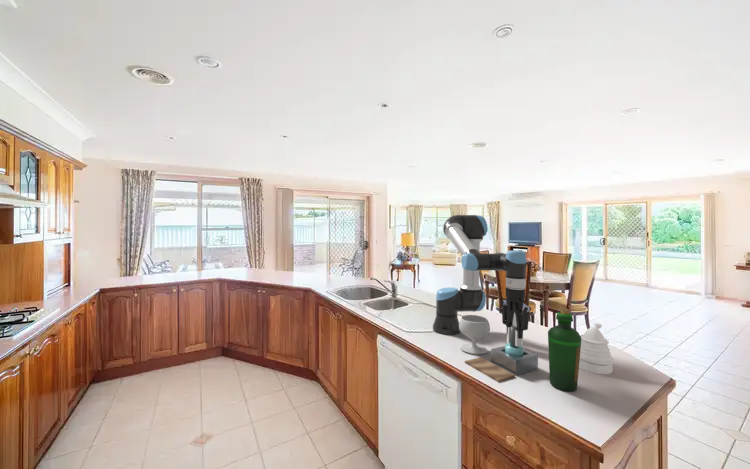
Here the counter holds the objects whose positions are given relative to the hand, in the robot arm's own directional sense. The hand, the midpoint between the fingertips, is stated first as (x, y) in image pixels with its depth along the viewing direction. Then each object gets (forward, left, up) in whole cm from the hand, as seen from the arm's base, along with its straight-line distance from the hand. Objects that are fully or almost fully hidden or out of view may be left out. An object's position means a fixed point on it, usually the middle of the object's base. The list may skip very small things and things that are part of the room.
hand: (514, 343), depth 128 cm
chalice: (-20, -3, -10) cm, 22 cm away
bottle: (+19, +3, -10) cm, 21 cm away
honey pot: (+14, +30, -10) cm, 34 cm away
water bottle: (-14, +17, -10) cm, 24 cm away
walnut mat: (-2, -12, -9) cm, 15 cm away
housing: (0, 0, -9) cm, 9 cm away
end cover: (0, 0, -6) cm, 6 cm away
